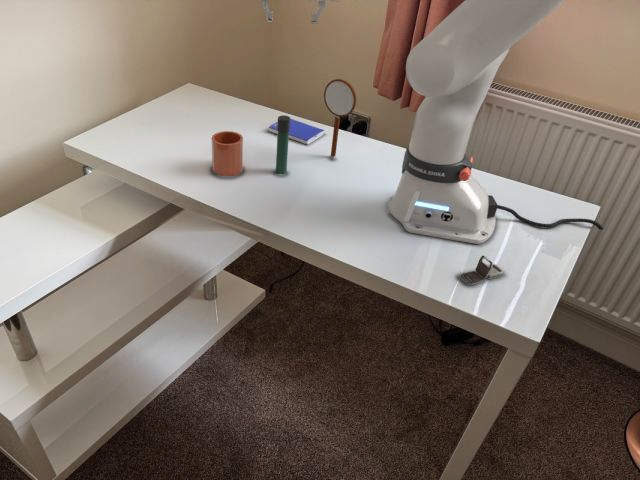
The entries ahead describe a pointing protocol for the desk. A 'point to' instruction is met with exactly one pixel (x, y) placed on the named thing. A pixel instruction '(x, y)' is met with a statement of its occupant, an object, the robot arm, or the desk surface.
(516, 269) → the desk surface
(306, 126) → the hard drive
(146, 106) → the desk surface
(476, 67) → the robot arm
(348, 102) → the magnifying glass
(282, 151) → the marker
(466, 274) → the strap clip
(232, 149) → the pen holder
